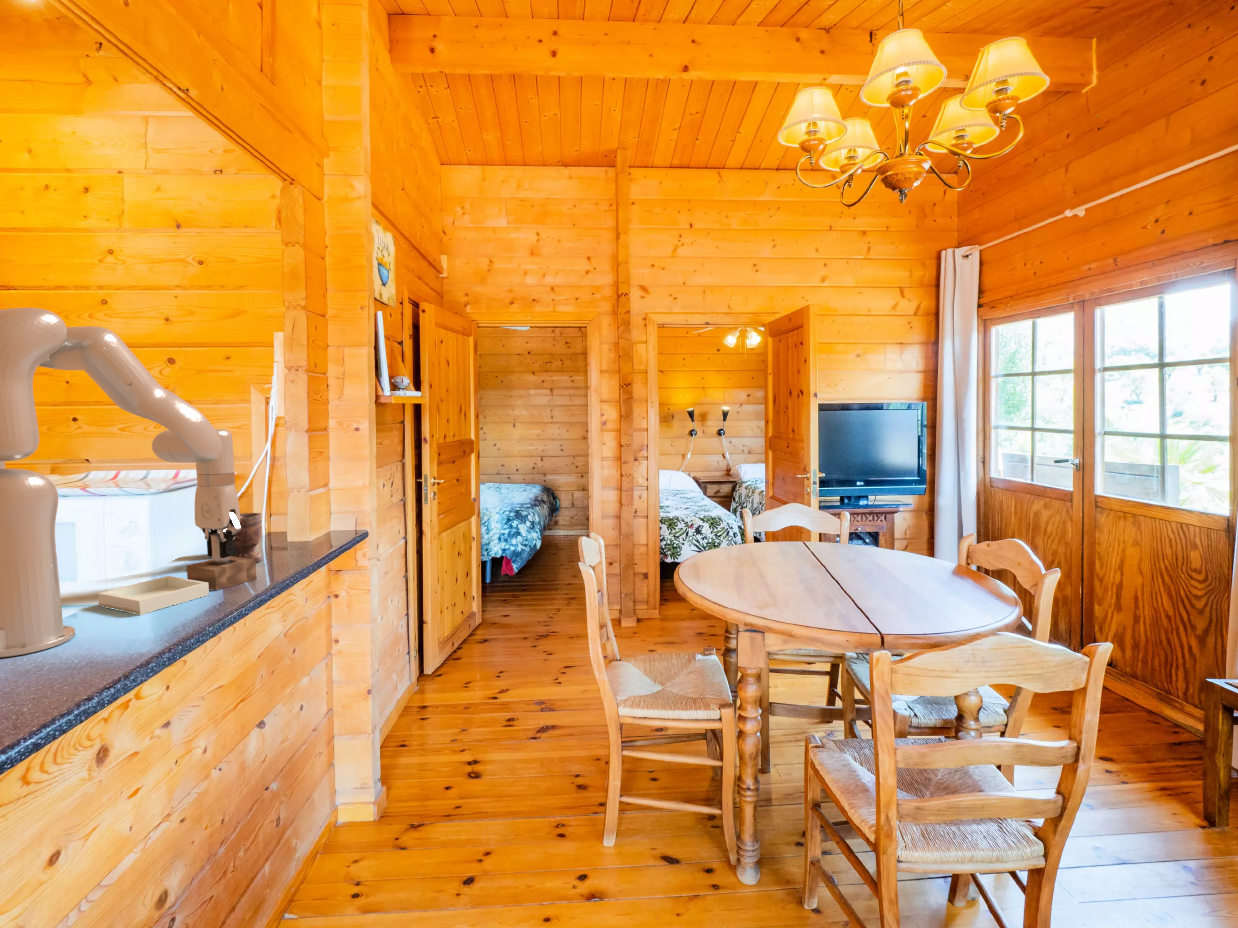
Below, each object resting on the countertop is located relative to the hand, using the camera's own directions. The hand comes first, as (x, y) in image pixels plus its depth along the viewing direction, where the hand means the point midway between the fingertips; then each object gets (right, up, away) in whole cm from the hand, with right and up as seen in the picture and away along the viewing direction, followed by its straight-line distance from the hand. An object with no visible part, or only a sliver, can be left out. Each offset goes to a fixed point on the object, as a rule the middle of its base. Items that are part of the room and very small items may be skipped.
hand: (221, 555), depth 145 cm
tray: (-6, -8, -13) cm, 16 cm away
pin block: (0, -7, +1) cm, 7 cm away
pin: (0, -7, +1) cm, 7 cm away
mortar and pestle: (-6, -5, +18) cm, 20 cm away
